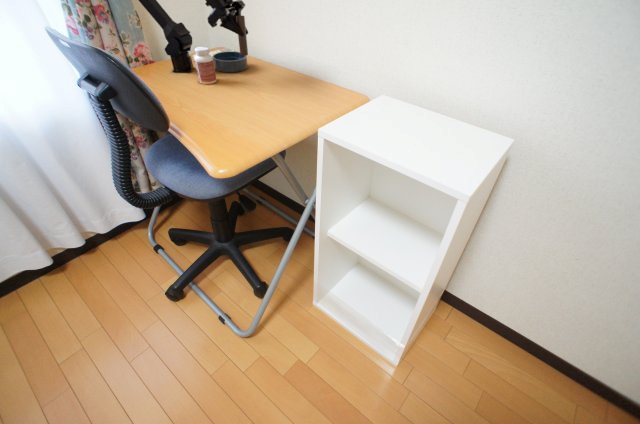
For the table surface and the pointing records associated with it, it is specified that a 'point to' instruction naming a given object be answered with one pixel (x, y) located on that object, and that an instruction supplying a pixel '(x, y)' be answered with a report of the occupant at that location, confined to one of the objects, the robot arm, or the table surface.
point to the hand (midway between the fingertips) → (245, 34)
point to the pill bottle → (204, 65)
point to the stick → (243, 39)
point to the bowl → (229, 61)
